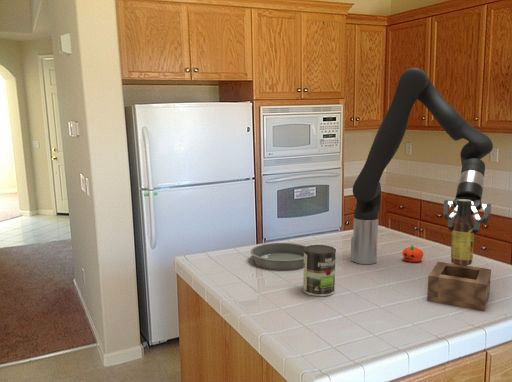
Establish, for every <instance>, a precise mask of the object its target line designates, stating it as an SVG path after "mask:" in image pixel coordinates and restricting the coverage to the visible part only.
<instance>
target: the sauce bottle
mask: <svg viewBox="0 0 512 382" xmlns="http://www.w3.org/2000/svg"><path fill="white" fill-rule="evenodd" d="M457 205H458V208H457V216H456V217H455V219H454V220H453V229H452V231H451V244H450V247H451V248H450V259H451V261H450V262H451V263H452V264H456V265H465V266H471V265H472V263H473V259H474V241H475V234H474V232H473V230H474V224H475V222H474V221H473V220H474V219H473V216H472V215H471V205H472V201H471V200H468V199H458V200H457Z"/></svg>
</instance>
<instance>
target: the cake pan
mask: <svg viewBox="0 0 512 382" xmlns="http://www.w3.org/2000/svg"><path fill="white" fill-rule="evenodd" d="M306 246H307V245H304V244H300V243H294V242H293V243H291V242H272V243H270V242H269V243H263V244H259V245H256V246H254V247H253V248H251V249H250V254H251V256H253V259H254V262H255V264H256V266H258V267H261V268H264V269H268V270H278V271H289V270H290V271H291V270H298V269H302V268H304V247H306ZM264 256H267V257H264Z"/></svg>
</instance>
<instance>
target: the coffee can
mask: <svg viewBox="0 0 512 382" xmlns="http://www.w3.org/2000/svg"><path fill="white" fill-rule="evenodd" d="M305 246H306V247H304V267H303V288H302V291H303V292H304V294H307V295H310V296H313V297H328V296H332V295H334V294H335V292H336V290H335V285H336V283H335V282H336V279H335V278H336V277H335V276H336V252H337V249H336V248H335V247H333V246H332V245H327V244H326V245H324V244H311V245H305Z"/></svg>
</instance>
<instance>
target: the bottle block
mask: <svg viewBox="0 0 512 382" xmlns="http://www.w3.org/2000/svg"><path fill="white" fill-rule="evenodd" d="M491 275H492V269H491V268H484V267H479V266H471V265H467V266H465V265H456V264H454V263H452V262H451V263H450V262H444V261H437V262H436V264H435V265H434V266H433V268H432V270H431V271H430V272H429V274H428V276H427V277H428V278H427V291H426V292H427V295H426V301H427V302H434V303H439V304H444V305H445V304H446V305H450V306H454V307H459V308H465V309H466V308H467V309H470V310H476V311H482V312H485V311H486V307H487V303H488V300H489V297H490V291H491V277H492V276H491Z"/></svg>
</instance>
